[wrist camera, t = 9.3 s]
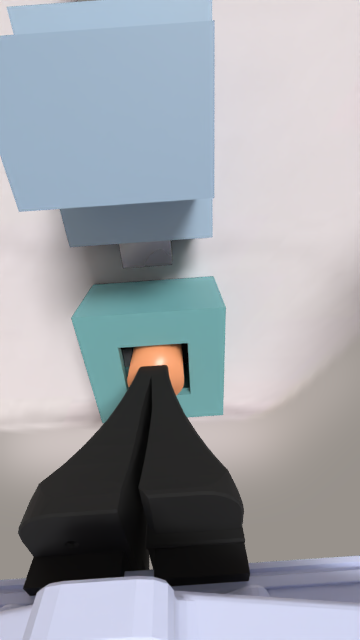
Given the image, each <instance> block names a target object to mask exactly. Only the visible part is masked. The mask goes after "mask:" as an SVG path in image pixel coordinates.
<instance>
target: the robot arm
mask: <svg viewBox="0 0 360 640" xmlns="http://www.w3.org/2000/svg"><path fill="white" fill-rule="evenodd" d="M243 514H244V508H243V504H242V500H241V497H240V494H239V492H238V490H237V488H236V485H235V483H234V481H233V479H232V477H231V475H230V473H229V471H228V470H227V469H226V468H225V467H224V466H223V465H222V463H221V462H220V461H219V460H218V459H217V458H216V457H215V456H214V455H213V453H212V452H211V451H210V450H209V449H208V447H207V446H206V445H205V443H204V442H203V440H202V439H201V438H200V436H199V435H198V434H197V432H196V431H195V429H194V428H193V426H192V425H191V423H190V422H189V420H188V418H187V417H186V415H185V413H184V411H183V409H182V407H181V405H180V403H179V401H178V399H177V397H176V394H175V392H174V389H173V387H172V384H171V381H170V377H169V370H168V366H167V365H157V366H142V367H140V368H139V369H138V372H137V374H136V376H135V378H134V380H133V381H132V383H131V385H130V387H129V388H128V390H127V392H126V393H125V395H124V397H123V398H122V400H121V401H120V403H119V404H118V405H117V407H116V408H115V410H114V411H113V413H112V414H111V415H110V417H109V418H108V419H107V420H106V422H105V423H104V424H103V425H102V426H101V428H100V429H99V430H98V431H97V432H96V433H95V434H94V436H93V437H92V438H91V439H90V440H89V441H88V442H87V443H86V444H85V445H84V446H83V447H82V448H81V449H80V450H79V451H78V452H77V453H76V454H75V455H73V456H72V457H71V458H70V459H69V460H68V461H67V462H66V463H65V464H64V465H62V466H61V467H60V468H59V469H57V470H56V471H55V472H54V473H52V474H51V475H50V476H49V477H47V478H46V479H45V480H43V481H42V482H41V483H40V484H39V485H38V487H37V489H36V491H35V493H34V495H33V497H32V499H31V500H30V502H29V505H28V507H27V510H26V512H25V515H24V517H23V519H22V522H21V524H20V526H19V531H18V534H19V536H20V538H21V540H22V542H23V543H24V544H25V546H26V547H27V548H28V549H29V551H30V552H31V554H32V555H33V556H34V558H33V561H32V564H31V566H30V570H29V572H28V575H27V578H21V579H6V580H0V640H360V555H359V556H346V557H345V556H344V557H330V558H315V559H300V560H286V561H271V562H256V563H248V560H247V554H246V550H245V544H244V543H245V538H244V533H243V528H242V523H243ZM149 555H150V559H151V563H152V566H153V570H149Z"/></svg>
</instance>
